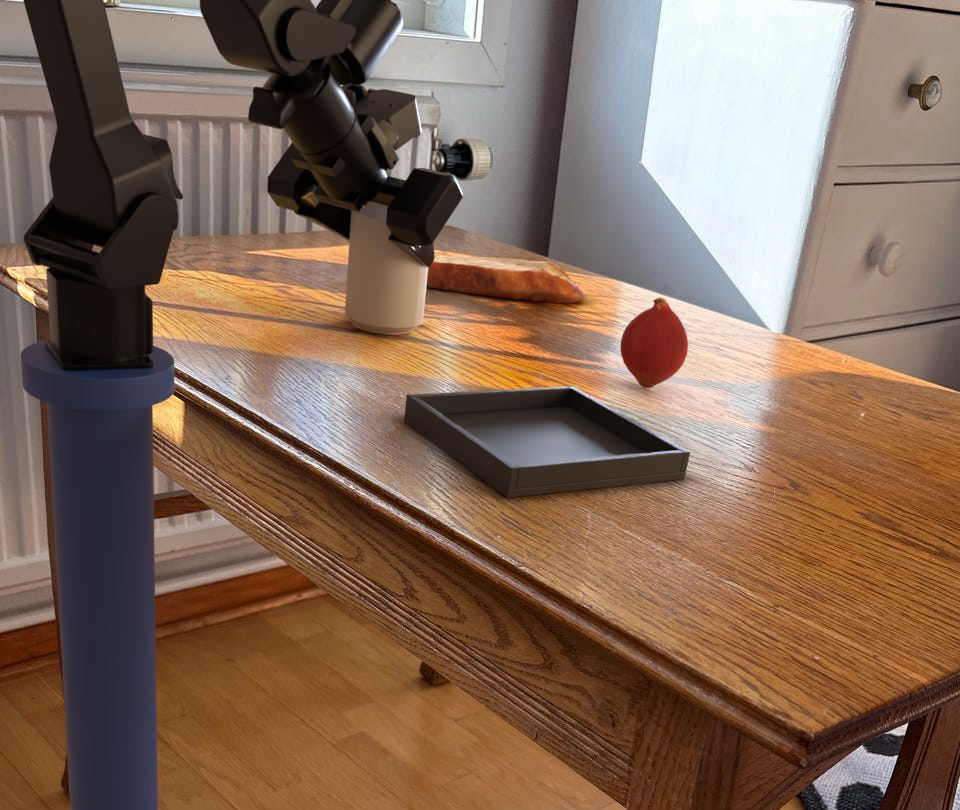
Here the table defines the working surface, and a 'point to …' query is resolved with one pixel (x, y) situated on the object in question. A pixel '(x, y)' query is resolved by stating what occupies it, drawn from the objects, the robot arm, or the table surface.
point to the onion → (654, 344)
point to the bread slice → (504, 278)
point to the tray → (544, 440)
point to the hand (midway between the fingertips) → (398, 254)
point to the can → (382, 277)
